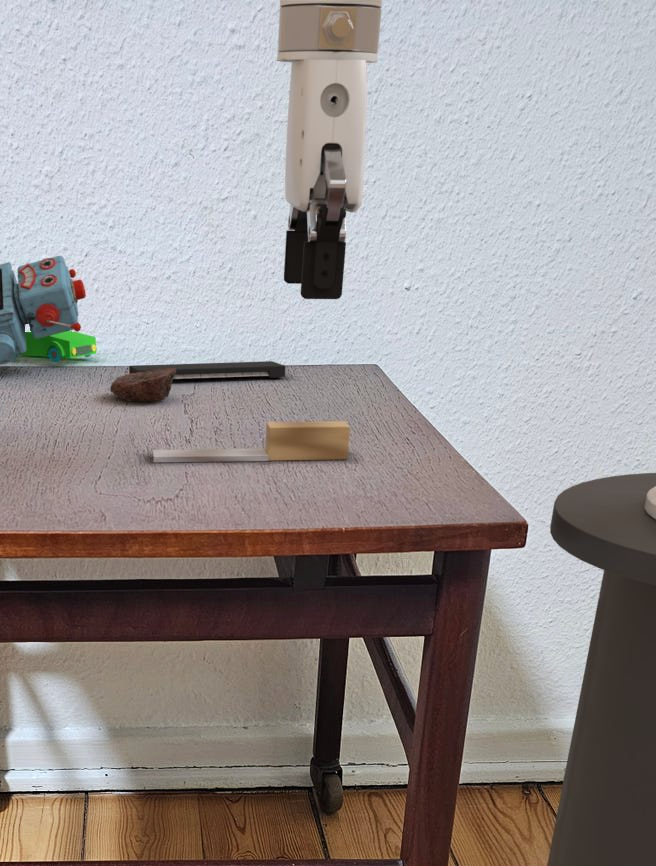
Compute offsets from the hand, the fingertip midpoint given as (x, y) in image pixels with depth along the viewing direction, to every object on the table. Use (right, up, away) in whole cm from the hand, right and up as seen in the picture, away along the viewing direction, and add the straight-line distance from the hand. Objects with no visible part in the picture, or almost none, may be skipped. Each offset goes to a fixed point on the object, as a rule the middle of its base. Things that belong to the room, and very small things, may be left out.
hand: (311, 290), depth 98 cm
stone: (-15, +2, +29) cm, 33 cm away
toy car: (-27, +16, +51) cm, 60 cm away
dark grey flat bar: (-7, +8, +37) cm, 39 cm away
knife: (-5, -12, +7) cm, 14 cm away
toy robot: (-51, +12, +43) cm, 68 cm away
